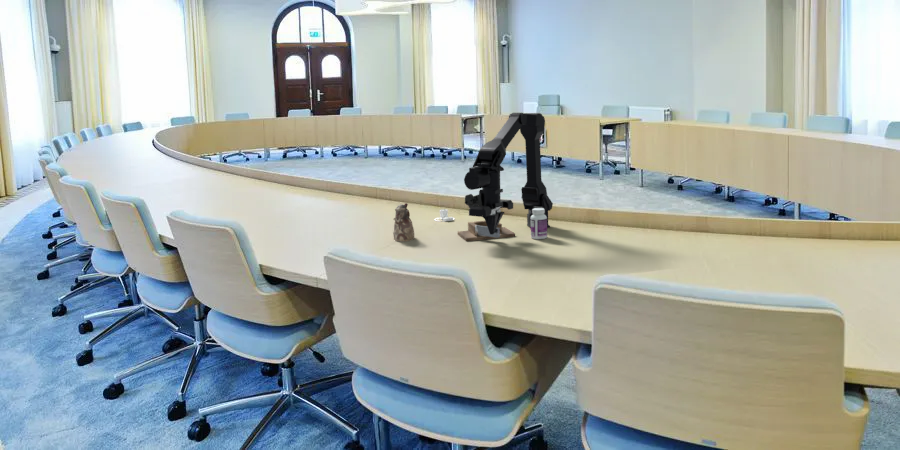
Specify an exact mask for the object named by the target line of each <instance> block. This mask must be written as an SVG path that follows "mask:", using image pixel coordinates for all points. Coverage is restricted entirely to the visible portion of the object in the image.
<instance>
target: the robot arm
mask: <svg viewBox="0 0 900 450" xmlns="http://www.w3.org/2000/svg"><path fill="white" fill-rule="evenodd" d="M545 124H546V120H545V116H543V114H542V113H540V112H529V113H528V112H526V113H524V112H512V113H509V115H508V118H507V120H506V122H505V123H504V124H503V126H501V129H499V131H498V132H497V134H496V135H495V136H494V137H493V139H492V140H490V141H488V142H485V143H484V145H482V147H480V149H479V150H478V154H477V156H476V159H475V160H474V163H473V165H472V167H471V166H470V167H469V169H468V170H469V171H468V172H466V174H465V176H464V178H463V182H464V185H465V187H466V189H468V190H470V191H471V190H472V191H474V190H477V189H478V194H477V195H473V194H472V193H469V194H466V195H465V196H464V204H465V205H466V206H468V216H470V217H479V218H482V219H484V221H486V224H487V227H488V229H489V232H490V234H492V235H493V234H494V232H495V230H496V228H497V226H498V224H499V223H500V222H501V219H503V215H504V214H505V211H502V210H501V209H507V210H508V211H509V210H513V209H514V202H513V201H512V199H501V193H503V192H504V189H503V188H501V172H502V171H504V170H505V169H504V167H503V166H502V165H501V164H503V163H502V162H504V159H505V157H506V155H507V150H506V149H507V147H508V146H509V145H510V143H512V140H513V139H514V138H515V136H516V135H517V134H518V132H520V134H521V136H522V137H523V139H524V142H525V144H524V146H525V164H526V182H525V184H524V186H522V187H521V190H520V191H521V200H522V204H523V208H524V210H528V213H526V215H527V216H526V219H527V220H526V226H527V227H529V228H531V220H530V218H531V216H532V215H533V213H532V209H534V208H544V209H545V213H544V215H546V216H547V228H551V225H550V224H549V212H550V211H551V210H552V209H553V201H552V200H551V199H550V197H549V196H548V191H547V187H546V185H545V184H544V182H543V180H542V159H541V138H542V136H543V134H544V132H545Z"/></svg>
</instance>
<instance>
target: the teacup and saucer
mask: <svg viewBox="0 0 900 450" xmlns="http://www.w3.org/2000/svg"><path fill="white" fill-rule="evenodd" d="M448 213H449V209H446V208H444V209H443V208H442V209H439V217H435V218H434V219H433V220H434V221H435V222H439V219H440V221H442V222H450V221H451V222H452V221H454V220H455V217H453V216H448V215H449V214H448ZM436 219H437V220H436Z"/></svg>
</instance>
